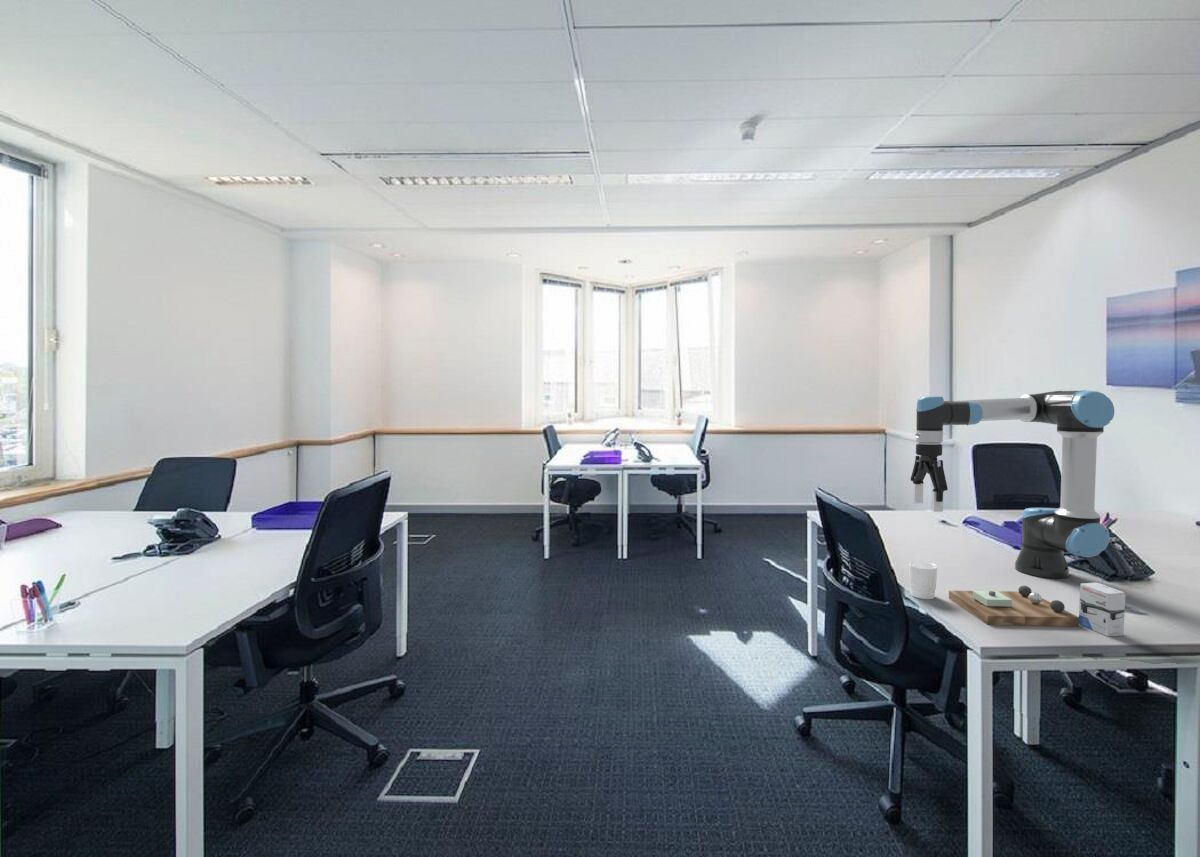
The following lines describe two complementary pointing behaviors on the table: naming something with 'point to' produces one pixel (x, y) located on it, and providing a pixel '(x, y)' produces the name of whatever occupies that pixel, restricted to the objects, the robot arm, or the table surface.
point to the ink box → (1102, 609)
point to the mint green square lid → (992, 598)
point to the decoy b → (1057, 606)
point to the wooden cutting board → (1014, 611)
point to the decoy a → (1024, 590)
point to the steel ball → (1035, 598)
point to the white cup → (922, 579)
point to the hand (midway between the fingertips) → (927, 507)
